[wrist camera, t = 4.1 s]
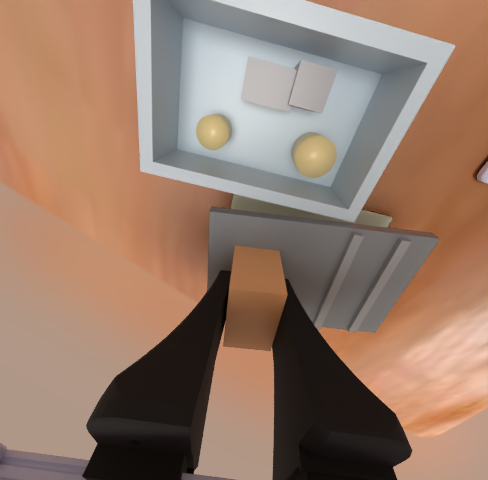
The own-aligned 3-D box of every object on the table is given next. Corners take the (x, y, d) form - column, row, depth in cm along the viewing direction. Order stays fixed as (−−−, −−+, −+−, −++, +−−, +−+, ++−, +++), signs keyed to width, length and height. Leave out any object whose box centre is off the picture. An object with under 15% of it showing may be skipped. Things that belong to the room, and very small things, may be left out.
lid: (431, 232, 11) (503, 283, 8) (370, 325, 15) (402, 383, 12) (211, 206, 11) (194, 247, 8) (208, 307, 15) (195, 363, 12)
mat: (390, 216, 15) (392, 218, 15) (338, 294, 19) (339, 296, 19) (236, 179, 14) (236, 180, 14) (218, 268, 19) (218, 270, 18)
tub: (394, 63, 11) (455, 45, 7) (332, 194, 14) (354, 222, 11) (175, 1, 10) (130, -52, 7) (170, 154, 14) (140, 171, 10)
